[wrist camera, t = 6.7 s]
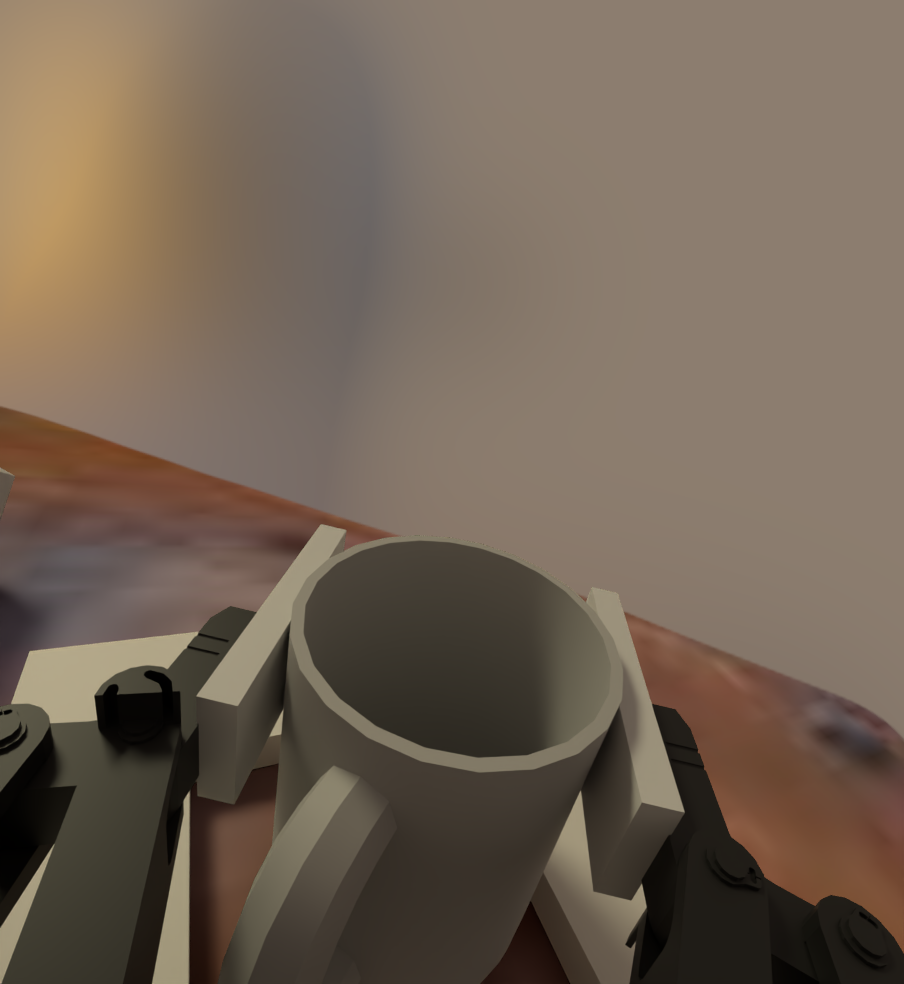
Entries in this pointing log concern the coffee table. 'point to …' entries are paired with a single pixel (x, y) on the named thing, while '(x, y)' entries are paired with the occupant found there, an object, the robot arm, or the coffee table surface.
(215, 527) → the coffee table surface
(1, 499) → the die
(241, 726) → the robot arm
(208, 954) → the coffee table surface
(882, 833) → the coffee table surface
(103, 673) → the beige flat frame
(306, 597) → the cup
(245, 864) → the coffee table surface
